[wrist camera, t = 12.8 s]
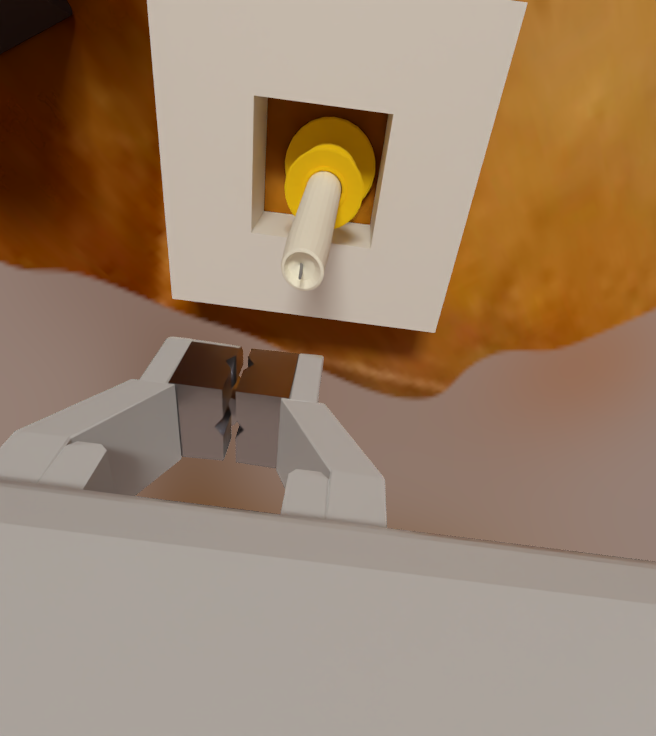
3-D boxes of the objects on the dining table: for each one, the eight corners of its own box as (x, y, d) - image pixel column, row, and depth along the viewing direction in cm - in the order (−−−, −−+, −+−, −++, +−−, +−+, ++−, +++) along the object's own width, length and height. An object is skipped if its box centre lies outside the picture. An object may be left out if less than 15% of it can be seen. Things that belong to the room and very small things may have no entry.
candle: (283, 205, 29) (219, 338, 16) (288, 110, 26) (215, 181, 13) (367, 217, 29) (369, 357, 16) (382, 122, 26) (399, 205, 13)
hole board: (504, 7, 23) (527, 2, 20) (427, 302, 32) (434, 332, 29) (174, -38, 23) (142, -51, 20) (192, 271, 32) (172, 298, 29)
